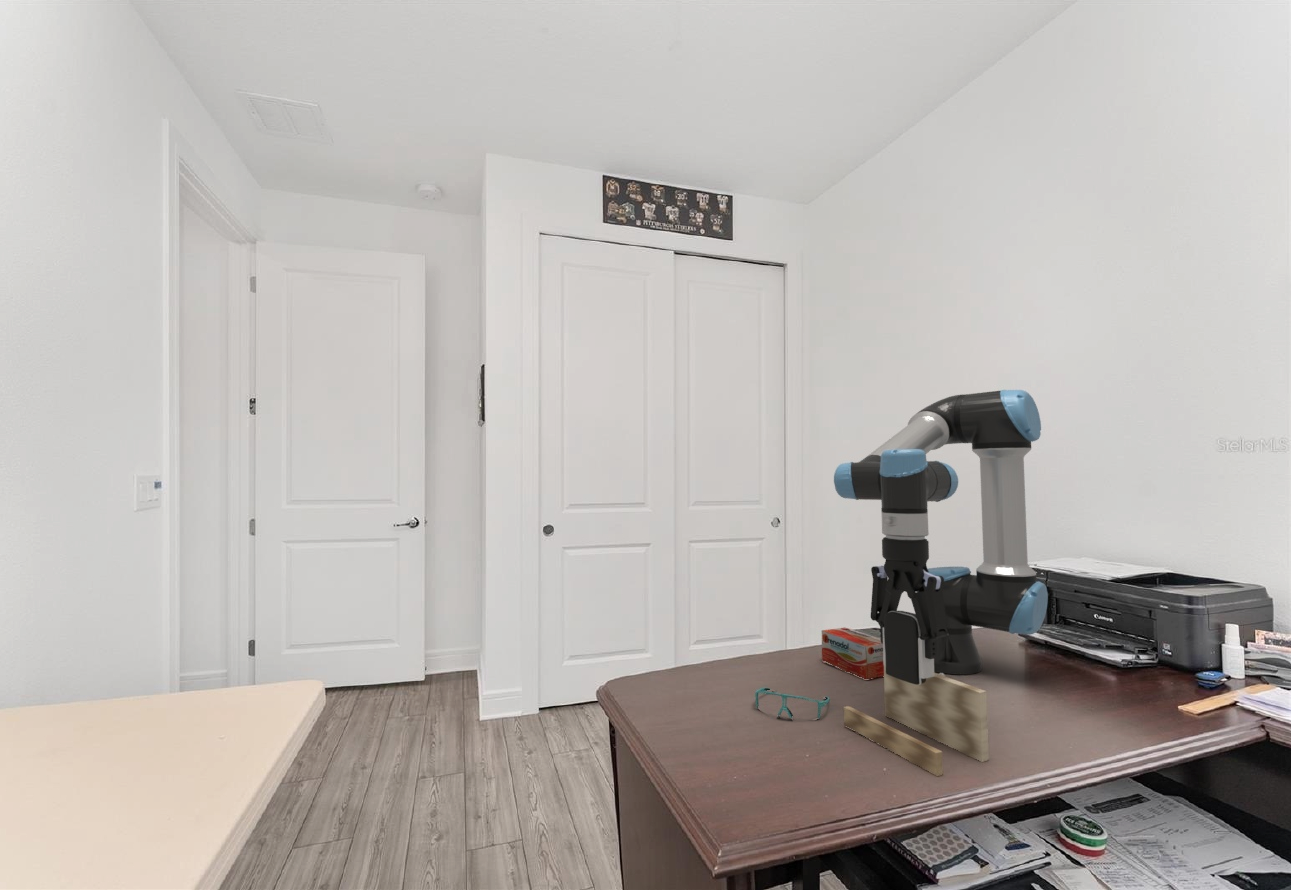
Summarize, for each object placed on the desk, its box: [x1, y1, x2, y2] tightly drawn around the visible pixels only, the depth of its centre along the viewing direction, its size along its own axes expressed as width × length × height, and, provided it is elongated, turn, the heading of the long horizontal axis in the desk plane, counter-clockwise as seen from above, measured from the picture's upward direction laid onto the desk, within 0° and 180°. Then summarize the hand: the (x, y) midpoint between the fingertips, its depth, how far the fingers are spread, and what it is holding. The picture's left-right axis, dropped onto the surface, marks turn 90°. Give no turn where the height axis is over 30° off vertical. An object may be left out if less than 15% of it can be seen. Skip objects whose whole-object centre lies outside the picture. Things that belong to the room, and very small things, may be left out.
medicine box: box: [821, 626, 884, 679], centre depth 142 cm, size 15×8×8 cm, turn 26°
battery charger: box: [884, 610, 926, 685], centre depth 104 cm, size 7×4×11 cm, turn 27°
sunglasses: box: [754, 686, 830, 719], centre depth 120 cm, size 14×15×5 cm
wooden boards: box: [843, 665, 990, 777], centre depth 104 cm, size 20×12×11 cm, turn 25°
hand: (908, 669), depth 104 cm, fingers closed on battery charger, 7 cm apart
